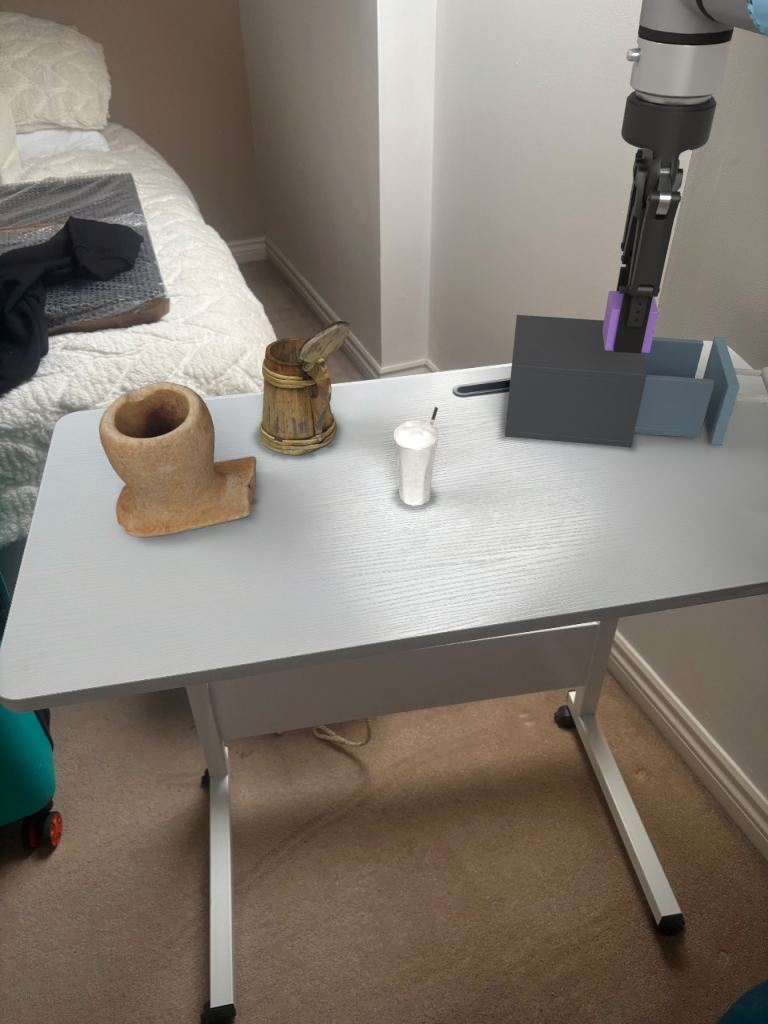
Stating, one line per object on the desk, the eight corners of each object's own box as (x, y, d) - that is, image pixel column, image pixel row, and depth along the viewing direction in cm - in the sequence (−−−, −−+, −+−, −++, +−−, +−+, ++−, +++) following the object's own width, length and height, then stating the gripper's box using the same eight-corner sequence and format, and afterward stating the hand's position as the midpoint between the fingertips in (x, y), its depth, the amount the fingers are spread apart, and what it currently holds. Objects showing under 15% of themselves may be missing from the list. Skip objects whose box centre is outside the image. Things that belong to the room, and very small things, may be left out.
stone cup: (119, 564, 82) (82, 438, 72) (119, 492, 91) (86, 372, 81) (272, 539, 84) (256, 414, 75) (257, 471, 93) (241, 352, 84)
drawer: (758, 397, 103) (776, 340, 98) (776, 450, 94) (797, 390, 89) (598, 385, 105) (608, 329, 100) (601, 435, 97) (612, 376, 92)
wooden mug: (311, 484, 92) (298, 336, 80) (246, 431, 100) (227, 290, 88) (374, 454, 96) (371, 309, 84) (307, 405, 104) (296, 268, 93)
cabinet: (624, 391, 106) (638, 322, 100) (630, 447, 96) (646, 374, 90) (510, 382, 108) (516, 314, 102) (504, 436, 98) (511, 365, 92)
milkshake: (449, 493, 90) (453, 415, 84) (415, 515, 87) (416, 436, 81) (419, 475, 93) (421, 398, 86) (385, 496, 90) (384, 418, 83)
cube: (645, 332, 88) (653, 292, 85) (649, 353, 84) (658, 312, 81) (602, 330, 88) (609, 290, 85) (604, 350, 85) (611, 309, 82)
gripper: (620, 69, 78) (585, 300, 93) (636, 119, 65) (592, 379, 80) (702, 71, 77) (653, 304, 92) (736, 122, 64) (672, 384, 79)
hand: (625, 338), depth 86 cm, fingers closed on cube, 4 cm apart
